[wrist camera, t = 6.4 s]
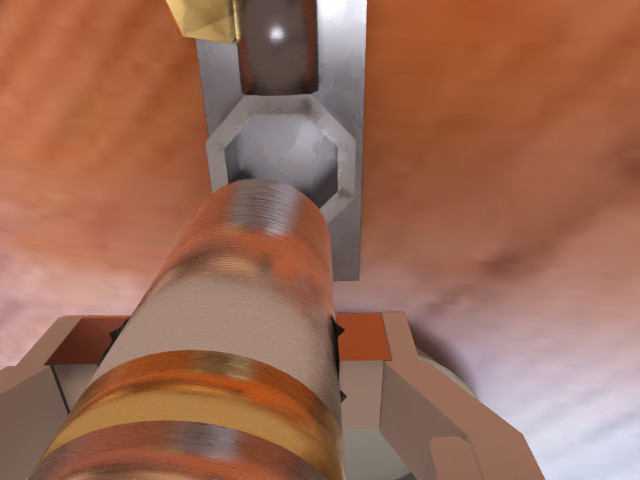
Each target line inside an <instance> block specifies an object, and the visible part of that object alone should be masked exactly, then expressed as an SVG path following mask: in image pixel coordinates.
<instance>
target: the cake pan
mask: <svg viewBox="0 0 640 480" xmlns="http://www.w3.org/2000/svg"><path fill="white" fill-rule="evenodd" d="M415 347H416V346H415ZM416 350H417V353H418V356H419V360H420V361H428V362H429V363H430V364H432V365H433V366H434V367H435V368H437V369H438V370H439V371H441V372H442V373H443V374H445V375H446V376H447V377H449V378H450V379H451V380H452V381H454V382H455V383H456V384H458V385H459V386H460V387H462V388H463V389H464V390H466V391H467V392H468V393H469V394H471V395H472V396H473V397H475V398H476V399H477V397H476V395H475V394H474V393H473V391H472V390H471V389H470V388H469V387H468V386H467V385H466V384H465V383H464V381H463V380H461V379H460V378H459V377H458V376H457V375H455V374H454V373H453V372H451V371H450V370H449V369H447V368H446V367H444V366H442V365H440V364H438V363H437V362H436V361H435V360H434V359H433V358H432V357H430V356H429V355H428V354H426V353H425V352H424V351H422V350H421V349H419V348H418V347H416ZM477 400H478V399H477ZM343 440H344V456H345V471H346V480H417V479H416V478H415V476H414V475H413V474H412V472H411V471H410V470H409V469H408V467H407V466H406V465H405V463H404V462H403V461H402V460H401V458H400V457H399V456H398V455H397V453H396V452H395V451H394V449H393V448H392V447H391V446H390V444H389V443H388V442H387V441H386V439H385V438H384V437H383V435H382V434H381V433H380V430H368V429H343Z"/></svg>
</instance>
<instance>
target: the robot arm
mask: <svg viewBox="0 0 640 480" xmlns="http://www.w3.org/2000/svg"><path fill="white" fill-rule="evenodd" d="M130 317H131V316H103V315H87V316H84V315H76V316H63V317H60V318H58V319H57V320H56V321H55V322H54V323H53V325H52V326H51V327H50V328H49V329H48V330H47V331H46V332H45V334H44V335H43V336H42V337H41V338H40V339H39V340H38V341H37V343H36V344H35V345H34V346H33V347H32V348H31V349H30V351H29V352H28V353H27V354H26V355H25V356H24V357H23V358H22V360H21V361H20V362H19V363H18V364H17V365H16V366H8V367H6V368H4V369H2V370H0V480H26V479H27V478H29V476H30V475H31V473H32V472H33V470H34V469H35V467H36V465H37V464H38V462H39V461H40V459H41V458H42V456H43V454H44V453H45V451H46V450H47V448H48V446H49V445H50V443H51V442H52V440H53V439H54V437H55V435H56V434H57V432H58V431H59V429H60V428H61V426H62V424H63V423H64V421H65V420H66V418H67V416H68V415H69V413H70V412H71V410H72V409H73V407H74V405H75V404H76V402H77V401H78V399H79V398H80V396H81V394H82V393H83V391H84V390H85V388H86V386H87V385H88V383H89V382H90V380H91V379H92V377H93V375H94V374H95V372H96V371H97V369H98V368H99V366H100V364H101V363H102V361H103V360H104V358H105V356H106V355H107V353H108V352H109V350H110V349H111V347H112V345H113V344H114V342H115V341H116V339H117V338H118V336H119V334H120V333H121V331H122V330H123V328H124V326H125V325H126V323H127V322H128V320H129V319H130ZM335 325H336V342H337V350H338V352H337V358H338V372H339V383H340V395H341V410H342V425H343V429H368V430H380V433H381V434H382V435H383V437H384V438H385V439H386V441H387V442H388V443H389V444H390V446H391V447H392V448H393V449H394V451H395V452H396V453H397V455H398V456H399V457H400V458H401V460H402V461H403V462H404V463H405V465H406V466H407V467H408V469H409V470H410V471H411V472H412V474H413V475H414V476H415V478H416V479H417V480H545V478H544V476H543V474H542V472H541V470H540V468H539V466H538V464H537V462H536V460H535V458H534V456H533V454H532V452H531V450H530V448H529V446H528V444H527V442H526V440H525V438H524V436H523V434H522V433H520V432H519V431H518V430H516V429H515V428H514V427H512V426H511V425H510V424H509V423H507V422H506V421H505V420H503V419H502V418H501V417H499V416H498V415H497V414H496V413H494V412H493V411H492V410H490V409H489V408H488V407H486V406H485V405H484V404H482V403H481V402H480V401H479V400H477V399H476V398H475V397H473V396H472V395H471V394H469V393H468V392H467V391H466V390H464V389H463V388H462V387H460V386H459V385H458V384H456V383H455V382H454V381H452V380H451V379H450V378H449V377H447V376H446V375H445V374H443V373H442V372H441V371H439V370H438V369H437V368H435V367H434V366H433V365H432V364H430V363H429V362H428V361H420V360H419V356H418V353H417V350H416V347H415V344H414V340H413V337H412V334H411V331H410V328H409V325H408V321H407V318H406V315H405V313H404V312H403V311H391V312H380V313H340V314H336V318H335Z"/></svg>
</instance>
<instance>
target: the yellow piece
mask: <svg viewBox="0 0 640 480" xmlns="http://www.w3.org/2000/svg"><path fill="white" fill-rule="evenodd" d="M162 1H163V3H164V5H165V7H166V9H167V11H168V13H169V15H170V17H171V19H172V21H173V23H174V25H175V27H176V29H177V32H178V34H179V35H181V36H185V37H191V38H197V39H203V40H209V41H216V42H222V43H228V44H232V42H233V40H234V39H235V37H236V31H235V21H234V10H233V0H162Z"/></svg>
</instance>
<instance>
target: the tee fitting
mask: <svg viewBox="0 0 640 480" xmlns="http://www.w3.org/2000/svg"><path fill="white" fill-rule="evenodd" d="M366 9H367V0H233V10H234V21H235V31H236V37H235V39H234V40H233V42H232V44H228V43H222V42H216V41H209V40H203V39H197V38H195V39H196V47H197V54H198V61H199V69H200V76H201V84H202V91H203V99H204V106H205V114H206V121H207V129H208V136H209V138H208V140H207V141H206V142H205V145H206V152H207V159H208V166H209V174H210V181H211V188H212V193H214V192H215V191H217V190H218V189H220V188H221V187H223V186H225V185H227V184H230V183H233V182H236V181H239V180H244V179H254V178H259V179H270V180H275V181H279V182H282V183H285V184H287V185H290V186H292V187H294V188H296V189H297V190H299V191H301V192H302V193H303V194H305V195H306V196H307V197H308V198H310V199H311V200H312V202H313V203H314V204H315V205H316V206H317V207H318V209H319V210H320V211H321V213H322V215H323V217H324V218H325V220H326V223H327V226H328V229H329V234H330V243H331V258H332V273H333V281H354V280H359V269H360V232H361V195H362V158H363V121H364V83H365V46H366Z"/></svg>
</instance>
